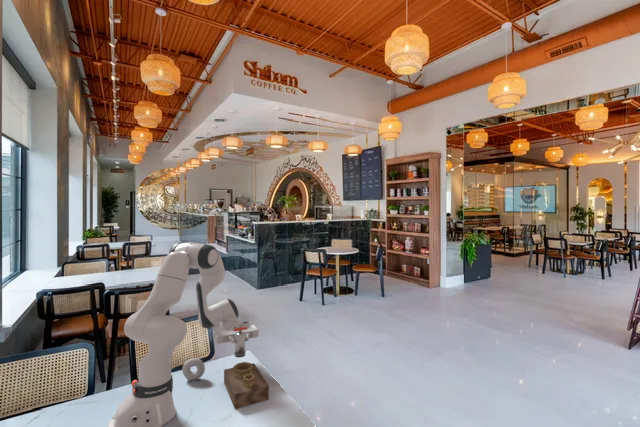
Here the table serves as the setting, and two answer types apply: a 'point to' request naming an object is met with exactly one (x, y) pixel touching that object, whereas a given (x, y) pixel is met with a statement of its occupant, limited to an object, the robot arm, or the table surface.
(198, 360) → the donut
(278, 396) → the table surface
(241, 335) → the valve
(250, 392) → the manifold block
